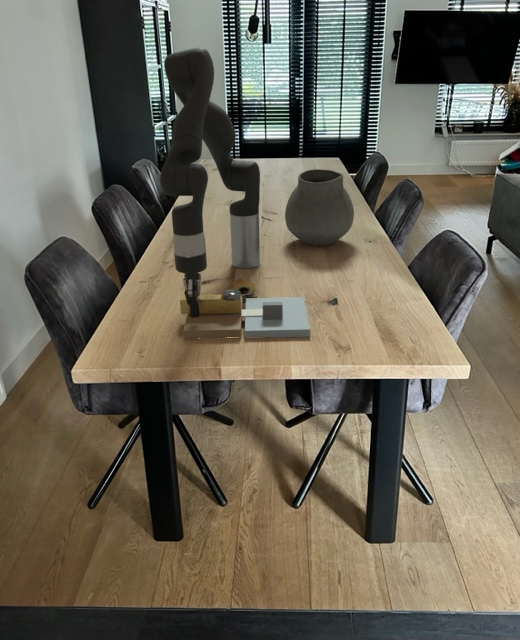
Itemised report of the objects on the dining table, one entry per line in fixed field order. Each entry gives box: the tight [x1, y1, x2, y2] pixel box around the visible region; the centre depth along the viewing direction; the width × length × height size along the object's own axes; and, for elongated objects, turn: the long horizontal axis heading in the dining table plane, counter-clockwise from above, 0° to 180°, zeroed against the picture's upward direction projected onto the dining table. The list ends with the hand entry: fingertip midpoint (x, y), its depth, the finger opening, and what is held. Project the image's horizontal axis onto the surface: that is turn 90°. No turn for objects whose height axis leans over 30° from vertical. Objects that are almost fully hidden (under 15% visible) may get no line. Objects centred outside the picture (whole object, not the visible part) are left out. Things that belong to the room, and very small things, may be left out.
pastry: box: [230, 278, 256, 297], centre depth 167 cm, size 9×7×4 cm
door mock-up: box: [183, 296, 311, 340], centre depth 148 cm, size 20×31×6 cm, turn 91°
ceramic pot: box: [284, 168, 355, 247], centre depth 201 cm, size 24×24×25 cm
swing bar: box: [179, 288, 243, 315], centre depth 147 cm, size 16×5×5 cm, turn 90°
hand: (195, 316), depth 142 cm, fingers closed
